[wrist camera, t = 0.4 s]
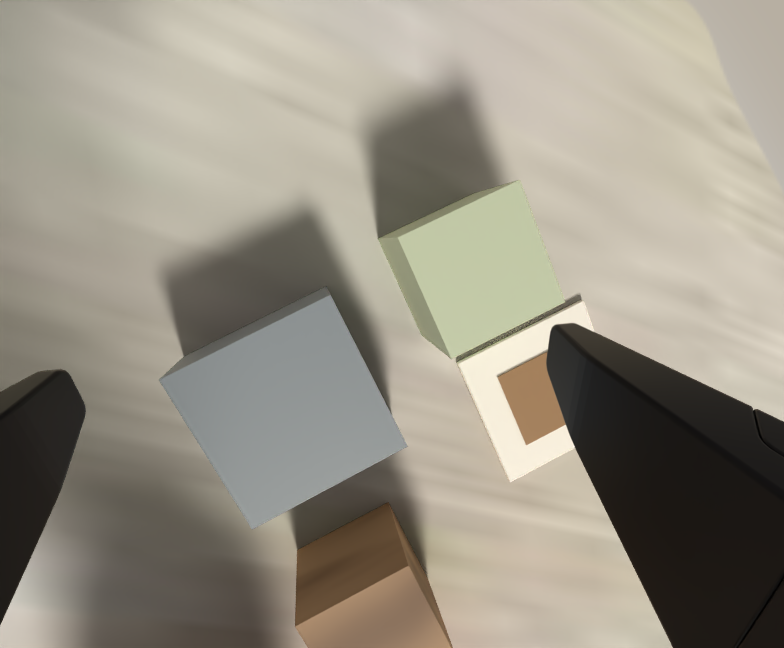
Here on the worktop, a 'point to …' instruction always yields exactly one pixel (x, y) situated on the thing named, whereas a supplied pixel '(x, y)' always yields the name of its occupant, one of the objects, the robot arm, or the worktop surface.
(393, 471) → the worktop surface
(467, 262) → the sage block
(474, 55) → the worktop surface
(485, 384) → the card
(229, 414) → the slate base block
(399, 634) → the walnut block
